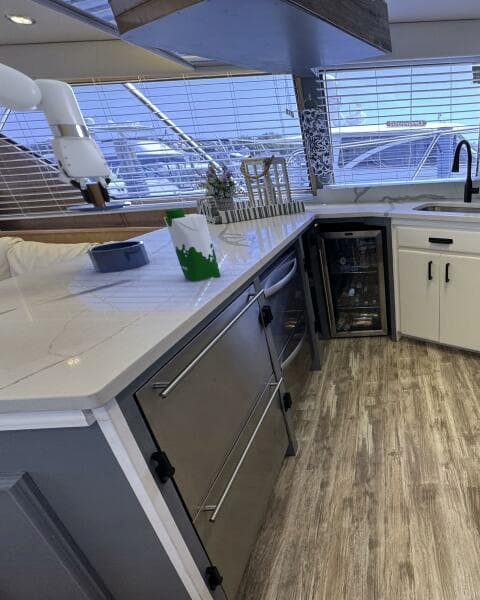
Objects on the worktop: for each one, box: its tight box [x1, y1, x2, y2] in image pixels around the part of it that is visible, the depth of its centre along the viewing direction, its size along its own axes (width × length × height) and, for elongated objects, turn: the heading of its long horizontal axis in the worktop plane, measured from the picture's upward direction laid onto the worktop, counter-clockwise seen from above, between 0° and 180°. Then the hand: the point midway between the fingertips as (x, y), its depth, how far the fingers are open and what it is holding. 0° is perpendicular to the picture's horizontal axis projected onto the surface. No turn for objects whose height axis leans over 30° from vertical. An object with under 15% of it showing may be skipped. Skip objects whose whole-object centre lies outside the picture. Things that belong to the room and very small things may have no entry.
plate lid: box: [66, 183, 132, 213], centre depth 95 cm, size 15×15×7 cm
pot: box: [86, 240, 151, 274], centre depth 103 cm, size 14×19×8 cm
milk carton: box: [163, 208, 221, 283], centre depth 91 cm, size 9×9×20 cm
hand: (98, 202), depth 96 cm, fingers closed on plate lid, 3 cm apart
